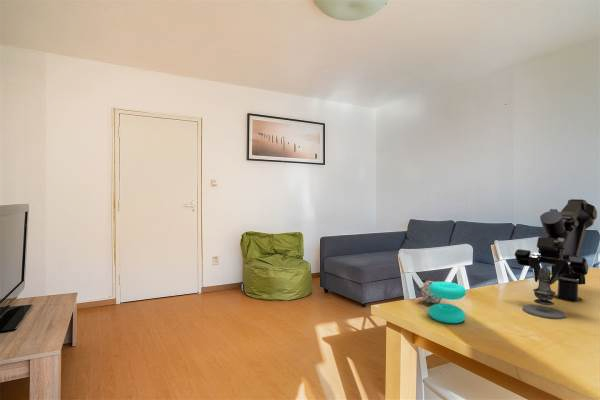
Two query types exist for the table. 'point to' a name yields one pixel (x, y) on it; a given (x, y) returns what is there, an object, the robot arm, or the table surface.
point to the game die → (428, 293)
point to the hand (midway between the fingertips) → (543, 282)
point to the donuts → (447, 311)
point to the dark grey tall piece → (544, 288)
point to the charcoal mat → (544, 311)
